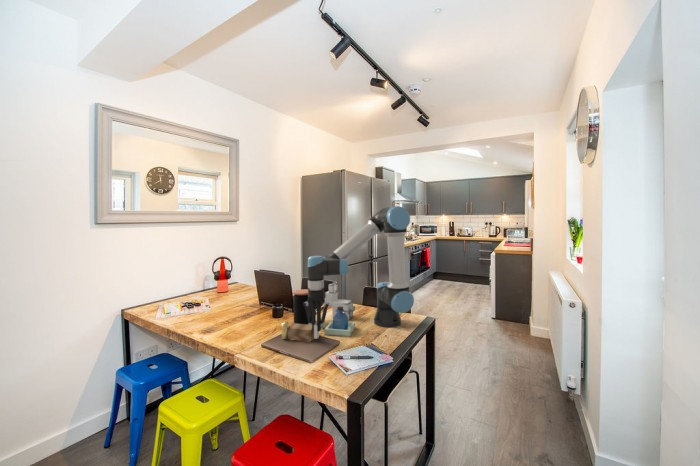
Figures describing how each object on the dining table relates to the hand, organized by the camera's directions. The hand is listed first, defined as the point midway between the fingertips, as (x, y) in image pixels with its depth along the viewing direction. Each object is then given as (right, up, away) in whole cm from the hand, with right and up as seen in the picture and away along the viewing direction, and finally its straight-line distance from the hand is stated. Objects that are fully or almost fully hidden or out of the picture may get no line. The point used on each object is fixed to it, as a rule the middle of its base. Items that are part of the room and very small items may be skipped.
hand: (316, 337), depth 140 cm
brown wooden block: (-8, -2, +4) cm, 9 cm away
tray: (+11, -1, +13) cm, 17 cm away
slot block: (-3, -1, +13) cm, 13 cm away
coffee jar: (-11, -1, +27) cm, 29 cm away
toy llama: (+11, -1, +36) cm, 37 cm away
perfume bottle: (+11, -1, +13) cm, 17 cm away
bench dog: (-16, -2, +3) cm, 16 cm away
